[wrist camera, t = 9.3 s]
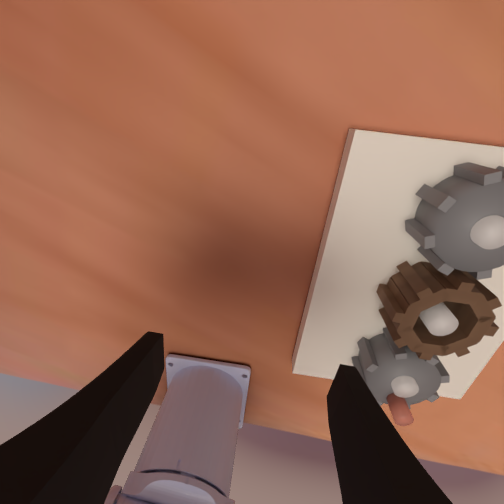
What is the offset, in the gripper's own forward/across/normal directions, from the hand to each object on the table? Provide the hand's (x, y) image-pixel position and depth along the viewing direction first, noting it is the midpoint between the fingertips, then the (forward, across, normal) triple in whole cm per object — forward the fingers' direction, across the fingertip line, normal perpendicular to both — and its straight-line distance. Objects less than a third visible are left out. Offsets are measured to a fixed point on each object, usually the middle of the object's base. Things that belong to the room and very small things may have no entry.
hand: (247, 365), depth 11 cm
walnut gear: (+8, -11, 0) cm, 14 cm away
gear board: (+10, -11, 0) cm, 15 cm away
